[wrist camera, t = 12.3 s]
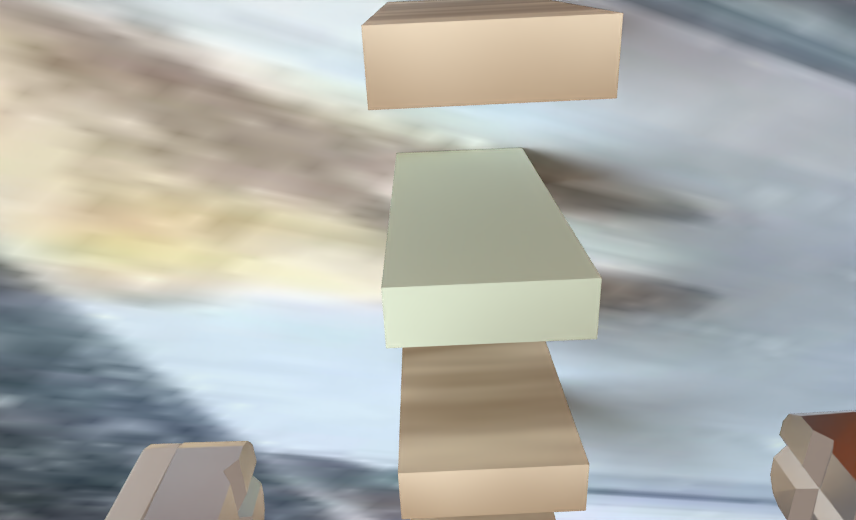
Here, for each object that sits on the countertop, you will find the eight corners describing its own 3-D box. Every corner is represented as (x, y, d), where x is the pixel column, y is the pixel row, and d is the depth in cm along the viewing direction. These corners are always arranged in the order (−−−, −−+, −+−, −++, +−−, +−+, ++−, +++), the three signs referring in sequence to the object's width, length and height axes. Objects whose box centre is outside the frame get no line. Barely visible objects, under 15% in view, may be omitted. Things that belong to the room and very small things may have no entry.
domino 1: (387, 2, 23) (361, 25, 12) (525, -5, 23) (622, 13, 12) (390, 48, 24) (368, 109, 13) (524, 42, 24) (616, 97, 13)
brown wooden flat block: (404, 275, 28) (398, 473, 17) (520, 270, 28) (589, 464, 17) (407, 308, 28) (401, 518, 17) (520, 302, 28) (585, 510, 17)
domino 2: (396, 153, 25) (381, 288, 14) (521, 147, 25) (601, 278, 14) (398, 191, 26) (386, 348, 15) (520, 186, 26) (596, 338, 15)
